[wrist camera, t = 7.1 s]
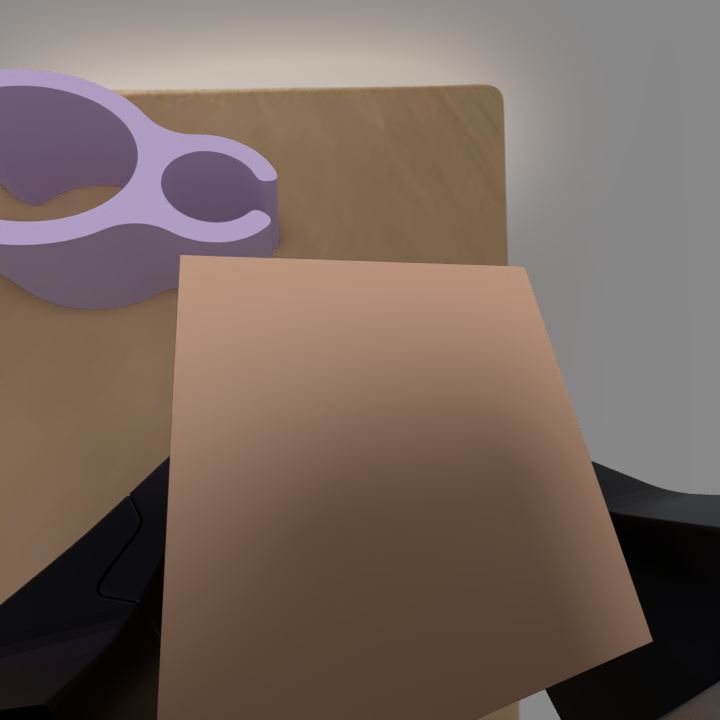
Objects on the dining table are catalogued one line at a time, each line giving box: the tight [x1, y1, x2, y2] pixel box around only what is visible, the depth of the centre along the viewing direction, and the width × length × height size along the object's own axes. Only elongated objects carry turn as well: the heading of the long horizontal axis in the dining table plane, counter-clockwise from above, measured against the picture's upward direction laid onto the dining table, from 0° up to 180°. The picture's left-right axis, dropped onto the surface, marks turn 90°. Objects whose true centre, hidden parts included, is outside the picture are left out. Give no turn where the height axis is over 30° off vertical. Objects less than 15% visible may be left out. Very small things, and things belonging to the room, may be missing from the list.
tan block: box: [157, 255, 653, 720], centre depth 9 cm, size 5×5×12 cm
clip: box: [0, 69, 279, 309], centre depth 20 cm, size 20×12×7 cm, turn 89°
